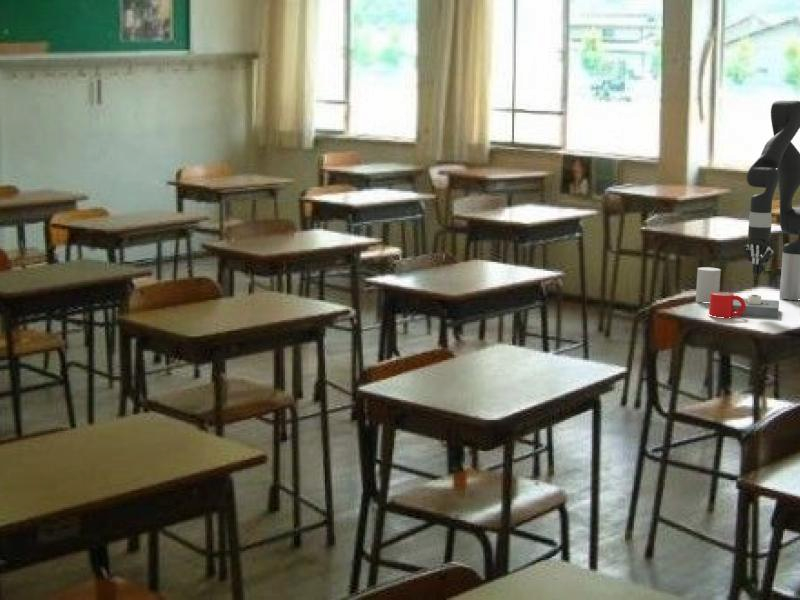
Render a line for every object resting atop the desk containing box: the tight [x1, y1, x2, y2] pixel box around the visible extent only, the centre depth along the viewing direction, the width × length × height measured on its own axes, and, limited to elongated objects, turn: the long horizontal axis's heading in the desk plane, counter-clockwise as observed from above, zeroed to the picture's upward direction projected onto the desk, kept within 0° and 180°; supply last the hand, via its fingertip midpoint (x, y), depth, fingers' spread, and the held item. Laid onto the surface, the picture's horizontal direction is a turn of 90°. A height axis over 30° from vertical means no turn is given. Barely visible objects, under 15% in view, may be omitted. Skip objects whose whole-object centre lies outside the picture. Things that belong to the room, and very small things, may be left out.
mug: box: [708, 291, 746, 319], centre depth 447 cm, size 8×12×8 cm, turn 73°
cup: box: [695, 266, 722, 303], centre depth 475 cm, size 8×8×12 cm
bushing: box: [747, 294, 762, 304], centre depth 455 cm, size 4×4×6 cm
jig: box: [733, 297, 780, 319], centre depth 455 cm, size 16×16×4 cm
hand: (756, 274), depth 453 cm, fingers closed
